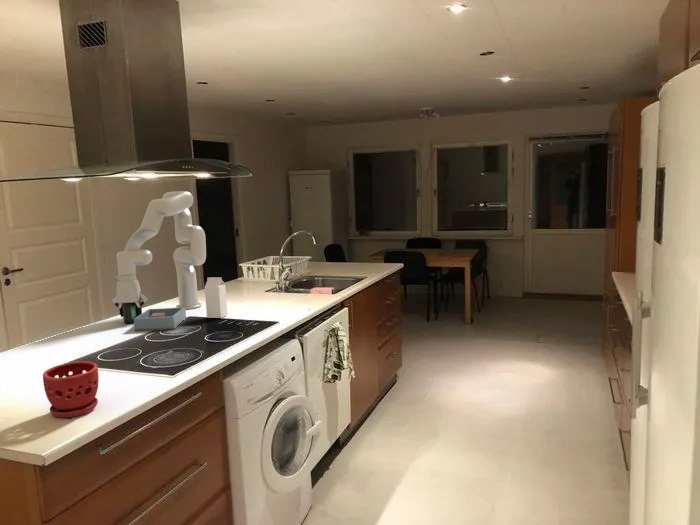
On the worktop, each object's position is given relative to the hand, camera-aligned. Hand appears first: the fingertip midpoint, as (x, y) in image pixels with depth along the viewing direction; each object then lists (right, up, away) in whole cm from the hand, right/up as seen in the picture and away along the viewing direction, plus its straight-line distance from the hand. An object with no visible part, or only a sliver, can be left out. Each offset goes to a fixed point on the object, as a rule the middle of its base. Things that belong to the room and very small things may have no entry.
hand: (131, 315), depth 250 cm
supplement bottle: (0, -3, 0) cm, 3 cm away
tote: (+17, -3, -7) cm, 18 cm away
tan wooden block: (+17, -3, -11) cm, 20 cm away
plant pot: (+28, -16, -105) cm, 109 cm away
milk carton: (+39, -1, +4) cm, 39 cm away
